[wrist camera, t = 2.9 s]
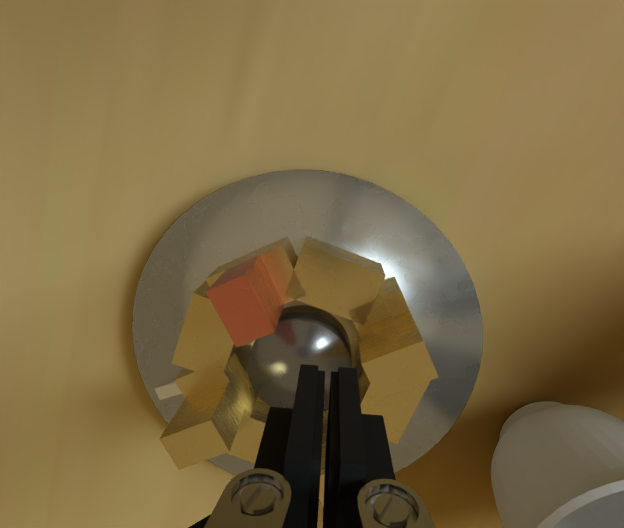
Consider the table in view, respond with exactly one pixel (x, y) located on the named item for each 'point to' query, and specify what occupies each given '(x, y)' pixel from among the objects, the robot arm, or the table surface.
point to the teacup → (559, 468)
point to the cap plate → (305, 318)
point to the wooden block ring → (263, 321)
